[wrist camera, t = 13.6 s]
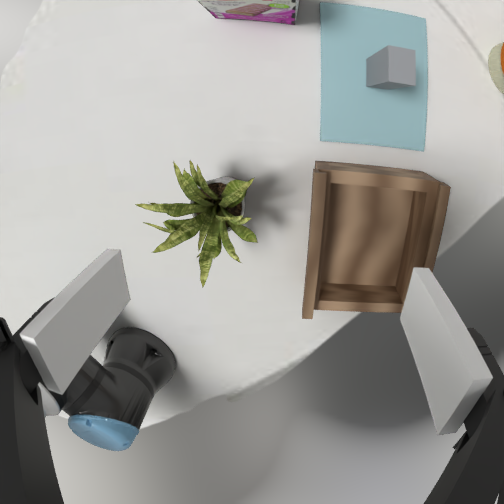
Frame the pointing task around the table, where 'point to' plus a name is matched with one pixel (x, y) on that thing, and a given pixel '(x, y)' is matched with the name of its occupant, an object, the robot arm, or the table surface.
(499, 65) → the reusable coffee cup
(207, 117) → the table surface
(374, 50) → the cover plate
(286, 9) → the candy bar box
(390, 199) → the walnut box
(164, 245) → the house plant
